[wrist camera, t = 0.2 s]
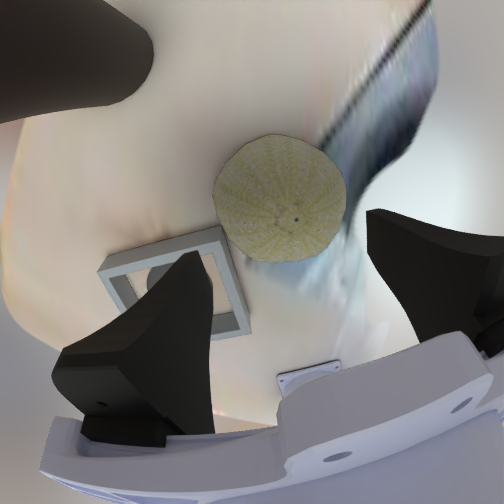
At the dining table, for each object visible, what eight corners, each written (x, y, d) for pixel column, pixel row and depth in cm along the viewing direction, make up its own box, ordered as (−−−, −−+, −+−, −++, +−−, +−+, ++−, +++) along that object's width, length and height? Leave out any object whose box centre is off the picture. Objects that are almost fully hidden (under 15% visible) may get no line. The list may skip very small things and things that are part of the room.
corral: (249, 314, 26) (251, 333, 24) (150, 332, 27) (146, 350, 25) (221, 225, 22) (219, 240, 19) (107, 256, 22) (96, 272, 20)
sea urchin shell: (276, 97, 15) (368, 184, 13) (310, 146, 22) (373, 215, 20) (176, 194, 18) (238, 294, 16) (234, 215, 25) (285, 287, 23)
